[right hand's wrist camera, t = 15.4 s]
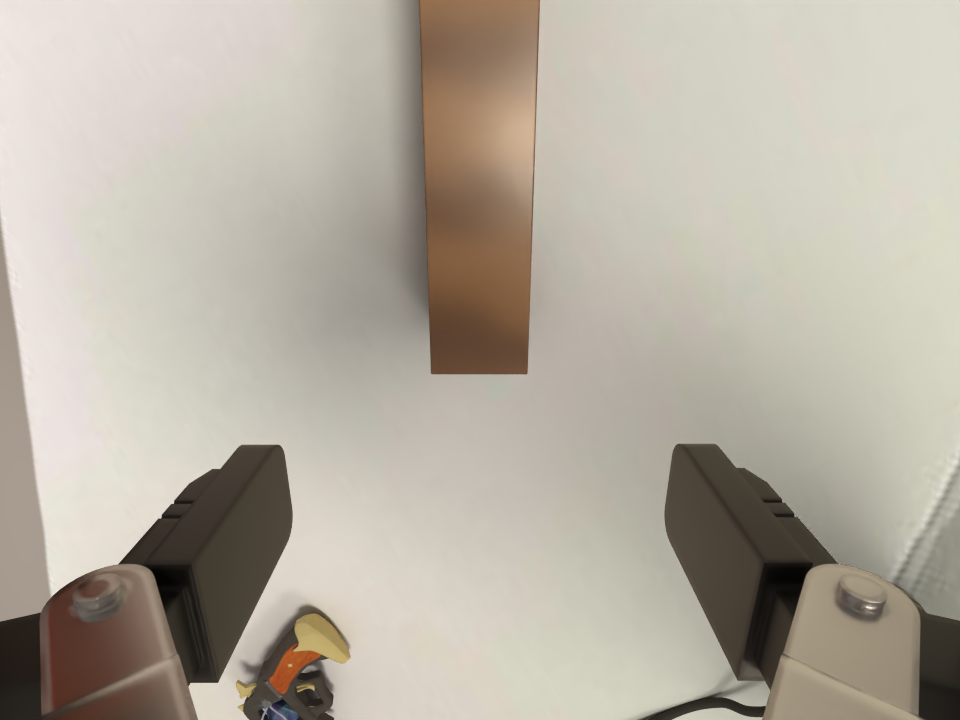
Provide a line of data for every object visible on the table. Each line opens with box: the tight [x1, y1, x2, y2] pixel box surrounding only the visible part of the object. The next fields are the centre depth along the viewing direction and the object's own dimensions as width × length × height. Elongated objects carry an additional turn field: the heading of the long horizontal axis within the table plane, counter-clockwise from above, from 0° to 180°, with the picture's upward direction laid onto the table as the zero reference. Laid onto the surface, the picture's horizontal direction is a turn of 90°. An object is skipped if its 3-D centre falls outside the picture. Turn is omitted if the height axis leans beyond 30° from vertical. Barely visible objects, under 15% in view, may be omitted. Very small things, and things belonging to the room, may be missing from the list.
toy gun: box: [236, 614, 351, 720], centre depth 45 cm, size 3×19×10 cm
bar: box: [419, 0, 540, 374], centre depth 27 cm, size 25×5×8 cm, turn 0°
